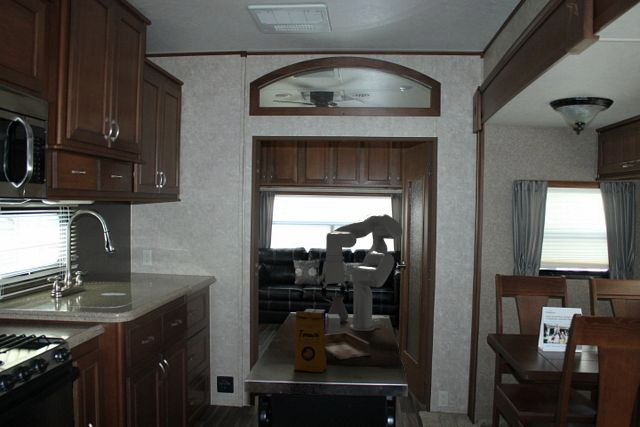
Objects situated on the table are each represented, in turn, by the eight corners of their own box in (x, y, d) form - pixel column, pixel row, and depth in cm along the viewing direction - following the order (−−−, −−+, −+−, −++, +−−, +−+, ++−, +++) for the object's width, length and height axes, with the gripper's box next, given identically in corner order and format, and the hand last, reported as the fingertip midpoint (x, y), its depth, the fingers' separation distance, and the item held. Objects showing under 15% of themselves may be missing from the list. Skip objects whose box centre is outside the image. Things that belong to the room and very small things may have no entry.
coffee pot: (350, 319, 263) (350, 292, 262) (346, 324, 251) (346, 295, 251) (312, 316, 268) (312, 290, 268) (307, 321, 257) (307, 293, 256)
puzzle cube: (321, 334, 231) (322, 314, 231) (301, 333, 233) (301, 312, 233) (325, 329, 241) (325, 309, 241) (306, 328, 243) (306, 308, 243)
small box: (326, 336, 228) (326, 314, 228) (338, 335, 229) (338, 313, 229) (328, 340, 220) (328, 317, 220) (340, 340, 221) (340, 317, 221)
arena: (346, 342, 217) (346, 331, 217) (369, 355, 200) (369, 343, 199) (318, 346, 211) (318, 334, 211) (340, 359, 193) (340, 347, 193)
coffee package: (323, 375, 175) (324, 315, 174) (290, 372, 178) (291, 313, 177) (329, 366, 184) (329, 309, 184) (298, 364, 187) (298, 308, 187)
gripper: (346, 257, 231) (345, 293, 231) (313, 258, 224) (313, 295, 224) (354, 259, 225) (353, 295, 225) (320, 260, 217) (320, 298, 217)
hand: (333, 295), depth 224 cm, fingers open, 9 cm apart
